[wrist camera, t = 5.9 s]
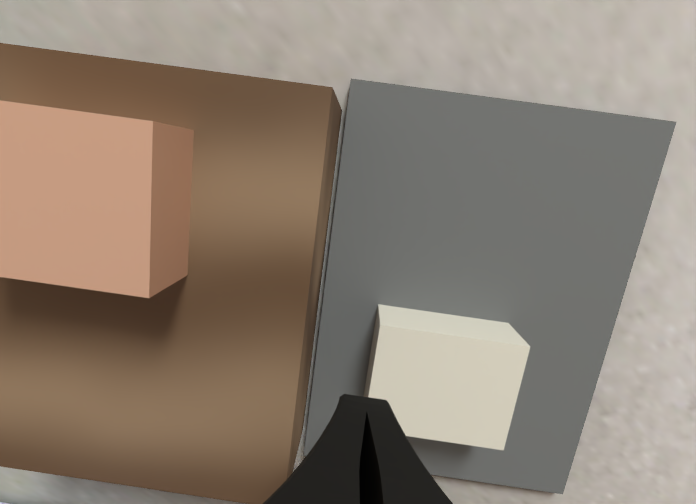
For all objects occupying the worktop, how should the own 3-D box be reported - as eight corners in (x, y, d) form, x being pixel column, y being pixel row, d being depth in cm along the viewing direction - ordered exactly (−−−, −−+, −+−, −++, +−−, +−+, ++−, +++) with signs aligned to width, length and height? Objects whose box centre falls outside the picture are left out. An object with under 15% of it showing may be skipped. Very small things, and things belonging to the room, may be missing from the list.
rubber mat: (558, 486, 17) (562, 494, 16) (304, 448, 17) (303, 455, 16) (667, 123, 13) (676, 121, 13) (351, 81, 13) (350, 78, 13)
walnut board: (302, 428, 16) (283, 508, 13) (74, 394, 17) (-16, 464, 13) (342, 110, 14) (332, 86, 10) (66, 73, 14) (-53, 36, 10)
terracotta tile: (187, 275, 11) (149, 298, 9) (16, 250, 11) (-59, 268, 9) (193, 130, 10) (153, 121, 8) (8, 104, 10) (-77, 89, 8)
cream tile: (363, 429, 14) (363, 396, 16) (503, 450, 14) (486, 414, 16) (379, 324, 13) (378, 304, 15) (530, 346, 13) (508, 322, 15)
